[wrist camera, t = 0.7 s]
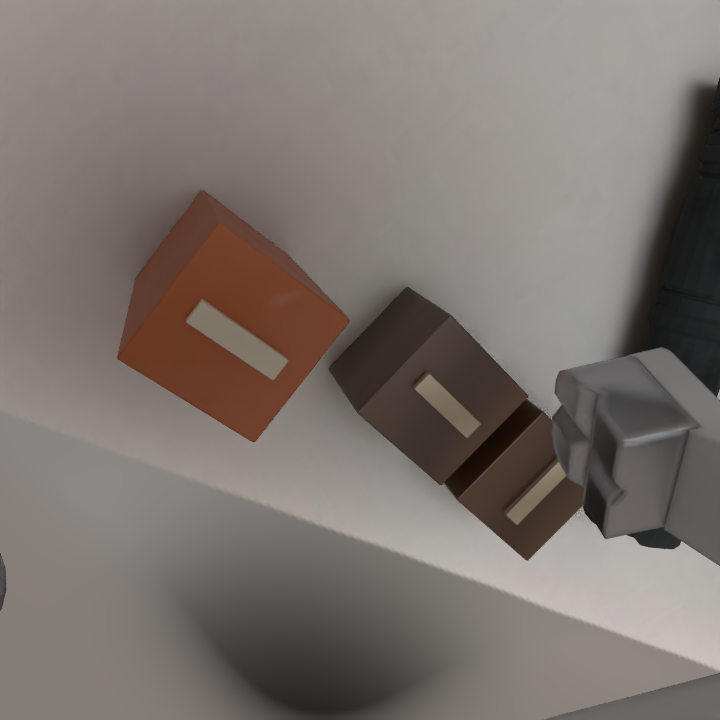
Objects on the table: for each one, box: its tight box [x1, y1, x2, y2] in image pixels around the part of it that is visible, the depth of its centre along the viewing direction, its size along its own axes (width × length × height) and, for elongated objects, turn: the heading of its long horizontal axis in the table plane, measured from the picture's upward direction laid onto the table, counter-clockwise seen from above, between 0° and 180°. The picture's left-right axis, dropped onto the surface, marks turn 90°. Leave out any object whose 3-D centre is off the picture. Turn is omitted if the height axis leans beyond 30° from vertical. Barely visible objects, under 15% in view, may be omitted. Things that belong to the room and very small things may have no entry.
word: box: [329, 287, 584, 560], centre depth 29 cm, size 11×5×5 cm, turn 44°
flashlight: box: [583, 78, 720, 549], centre depth 31 cm, size 5×21×5 cm, turn 169°
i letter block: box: [117, 190, 350, 442], centre depth 22 cm, size 4×4×10 cm
